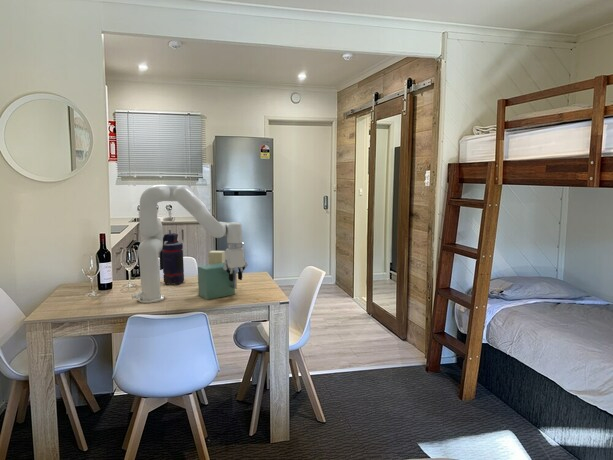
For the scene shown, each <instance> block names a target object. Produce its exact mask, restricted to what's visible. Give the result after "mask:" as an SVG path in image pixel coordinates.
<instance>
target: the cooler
mask: <svg viewBox="0 0 613 460" xmlns="http://www.w3.org/2000/svg"><path fill="white" fill-rule="evenodd" d="M224 264H225V263H218V264H210V265H209V264H203V265H197V284H198V285H197V286H198V296H199V297H201V298H203V299H205V300H208V299H207V294H206V269H213V268H220V267H223V266H224Z"/></svg>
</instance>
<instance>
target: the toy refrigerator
mask: <svg viewBox="0 0 613 460" xmlns="http://www.w3.org/2000/svg"><path fill="white" fill-rule="evenodd" d="M225 251H226V250H210V251H208V254H207V255H208V265H210V264H218V263H225Z"/></svg>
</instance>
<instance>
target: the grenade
mask: <svg viewBox="0 0 613 460" xmlns="http://www.w3.org/2000/svg"><path fill="white" fill-rule="evenodd" d="M178 238H179V233H175V232H174V233H172V232H169V233H165V234H163V247H162V250H161V252H160V253H159V254H158V259H159V269H160V271H162V273H163V277H162V278H163V283H164V285H174V286H178V285H180V283H184V281H185V270H184V269H185V268H184V267H185V266H184V265H185V264H184V243H182V242H179V240H178Z"/></svg>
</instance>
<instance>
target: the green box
mask: <svg viewBox="0 0 613 460" xmlns="http://www.w3.org/2000/svg"><path fill="white" fill-rule="evenodd" d="M222 268H223V267H220V268H213V269H206V294H207V299H206V300H213V299H218V298H222V297H229V296H234V295H236V290H237V289H238V275H237V269H236V268H233V271H232V274H233V282H232V281H230V280H229V273H228V272H227V271H225V270H224V269H222ZM226 268H227V269H228V267H226Z"/></svg>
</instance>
